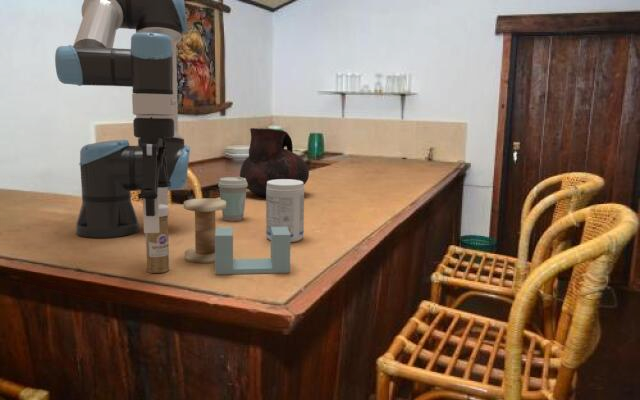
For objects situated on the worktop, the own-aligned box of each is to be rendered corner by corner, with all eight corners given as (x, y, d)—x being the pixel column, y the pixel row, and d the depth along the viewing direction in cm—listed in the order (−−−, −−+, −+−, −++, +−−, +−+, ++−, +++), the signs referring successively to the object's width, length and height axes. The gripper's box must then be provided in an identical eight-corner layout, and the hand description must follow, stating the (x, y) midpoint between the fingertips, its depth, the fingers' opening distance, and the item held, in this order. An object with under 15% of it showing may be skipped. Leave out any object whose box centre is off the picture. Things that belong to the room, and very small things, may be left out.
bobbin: (183, 263, 114) (181, 206, 111) (186, 251, 122) (185, 198, 120) (225, 262, 115) (225, 205, 113) (226, 250, 124) (226, 198, 121)
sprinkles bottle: (157, 275, 105) (155, 208, 103) (141, 271, 108) (139, 205, 105) (174, 269, 109) (173, 205, 107) (158, 265, 111) (156, 202, 109)
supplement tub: (285, 232, 143) (286, 177, 140) (311, 239, 136) (312, 182, 134) (258, 238, 136) (258, 181, 133) (283, 245, 130) (284, 185, 127)
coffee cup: (242, 223, 151) (242, 181, 149) (213, 221, 153) (213, 179, 151) (251, 217, 160) (251, 177, 158) (224, 215, 161) (224, 176, 159)
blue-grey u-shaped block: (215, 274, 107) (214, 235, 105) (216, 264, 114) (216, 227, 112) (289, 272, 109) (290, 234, 108) (286, 262, 116) (287, 226, 115)
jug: (320, 194, 202) (322, 128, 197) (281, 204, 181) (282, 130, 176) (268, 187, 215) (268, 125, 210) (225, 196, 194) (225, 126, 189)
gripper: (165, 118, 91) (168, 239, 95) (180, 116, 116) (182, 212, 119) (119, 117, 90) (124, 240, 94) (144, 115, 114) (147, 213, 118)
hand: (156, 225), depth 106 cm, fingers open, 13 cm apart
